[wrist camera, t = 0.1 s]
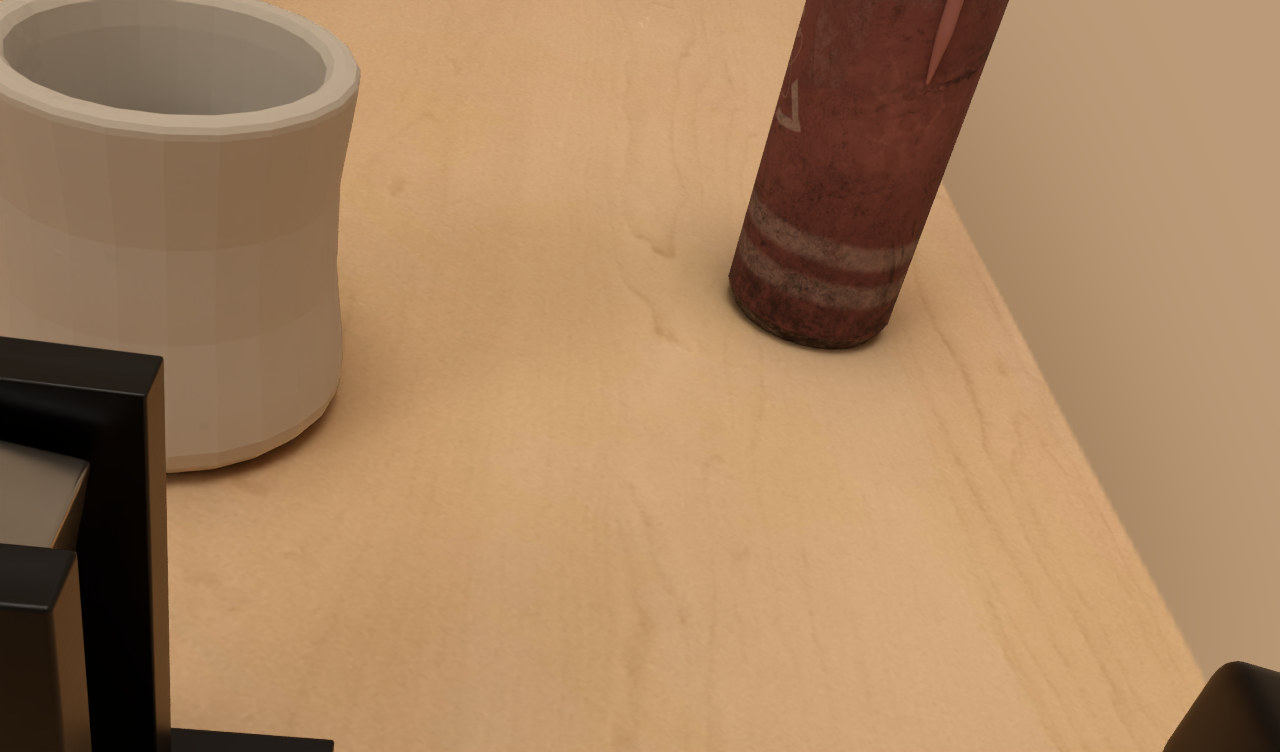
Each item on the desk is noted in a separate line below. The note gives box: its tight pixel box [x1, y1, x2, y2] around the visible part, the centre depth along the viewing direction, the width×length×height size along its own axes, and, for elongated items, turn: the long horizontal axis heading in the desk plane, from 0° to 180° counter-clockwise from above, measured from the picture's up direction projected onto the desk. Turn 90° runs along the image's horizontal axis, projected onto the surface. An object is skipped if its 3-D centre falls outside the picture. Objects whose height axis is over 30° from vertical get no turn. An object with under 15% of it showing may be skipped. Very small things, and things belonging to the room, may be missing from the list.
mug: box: [0, 0, 360, 473], centre depth 32 cm, size 12×9×10 cm
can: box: [729, 0, 1009, 349], centre depth 42 cm, size 6×6×14 cm
